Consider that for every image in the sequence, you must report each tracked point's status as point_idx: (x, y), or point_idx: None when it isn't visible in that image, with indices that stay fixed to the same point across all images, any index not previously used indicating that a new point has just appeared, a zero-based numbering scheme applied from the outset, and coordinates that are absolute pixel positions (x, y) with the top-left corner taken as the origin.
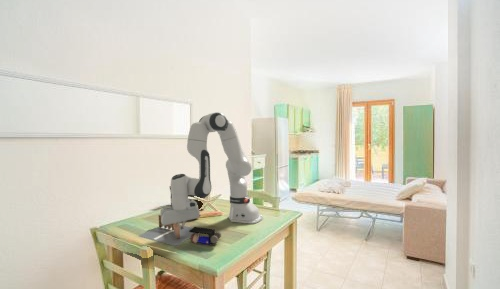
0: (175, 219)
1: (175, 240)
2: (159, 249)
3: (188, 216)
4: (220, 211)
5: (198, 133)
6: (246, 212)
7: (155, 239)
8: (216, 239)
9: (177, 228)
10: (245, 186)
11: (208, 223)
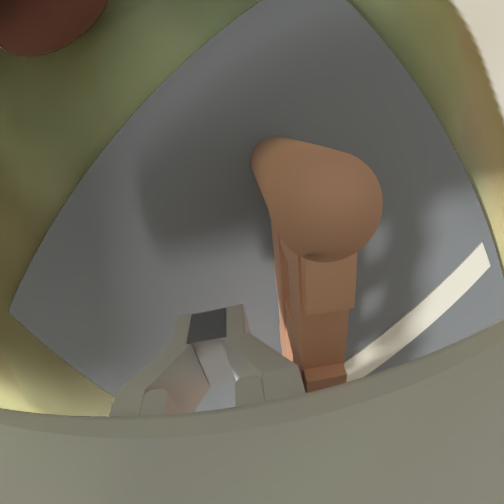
0: (424, 454)
1: (315, 115)
2: (460, 18)
3: (3, 476)
4: None
5: None
6: None
7: (482, 246)
8: None
9: (329, 148)
10: None
11: (26, 405)
